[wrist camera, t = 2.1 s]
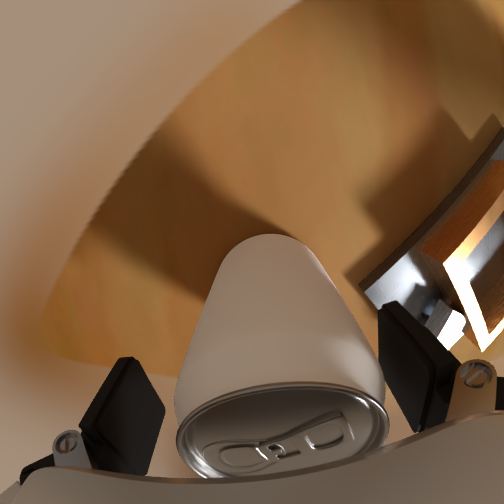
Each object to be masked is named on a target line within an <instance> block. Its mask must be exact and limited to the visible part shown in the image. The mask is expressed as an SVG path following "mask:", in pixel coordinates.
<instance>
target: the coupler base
mask: <svg viewBox="0 0 504 504" xmlns="http://www.w3.org/2000/svg"><path fill="white" fill-rule="evenodd" d="M358 285H359V286H360V288H361V289H362V290H363V291H364V293H365V294H366V295H367V296H368V298H369V299H370V300H371V301H372V302H373V304H374V305H375V306H376V307H377V309H378V310H379V309H381V307H382V305H383V304H385V303H388V302H391V301H394V300H397V301H398V302H399V303H400V304H401V305H402V306H403V307H404V308H405V309H406V310H407V311H408V312H409V313H410V314H411V315H412V316H413V317H414V318H415V319H416V320H417V321H418V322H419V323H420V324H421V325H422V326H425V327H427V328H428V329H429V330H430V331H431V332H432V333H433V334H434V335H435V336H436V337H437V338H438V339H439V340H440V342H441V343H442V344H443V345H444V346H445V347H446V348H447V349H448V350H449V348H450V347H451V346H452V345H453V344H454V343H455V342H456V341H457V340H458V339H459V338H460V337H461V336H462V335H463V334H464V335H465V336H466V337H467V338H468V339H469V340H470V341H471V342H472V343H474V344H475V345H476V346H477V347H478V348H479V349H480V350H481V351H482V352H483V351H484V350H485V348H486V347H487V346H488V345H489V344H490V343H491V342H492V341H493V340H494V339H495V338H496V336H497V335H498V334H499V333H500V332H501V331H502V329H503V328H504V127H503V128H502V129H501V131H500V132H499V134H498V135H497V136H496V138H495V139H494V140H493V142H492V143H491V144H490V146H489V147H488V148H487V150H486V151H485V152H484V153H483V155H482V156H481V157H480V158H479V160H478V161H477V162H476V163H475V165H474V166H473V167H472V168H471V170H470V171H469V172H468V173H467V174H466V176H465V177H464V178H463V179H462V180H461V181H460V183H459V184H458V185H457V186H456V187H455V188H454V190H453V191H452V192H451V193H450V194H449V195H448V196H447V197H446V199H445V200H444V201H443V202H442V203H441V204H440V205H439V206H438V207H437V208H436V209H435V211H434V212H433V213H432V214H431V215H430V216H429V217H428V218H427V219H426V220H425V221H424V222H423V223H422V224H421V225H420V226H419V227H418V228H417V229H416V230H415V231H414V232H413V233H412V234H411V235H410V236H409V237H408V238H407V239H406V240H405V241H404V242H403V243H402V244H401V245H400V246H399V247H398V248H397V249H396V250H395V251H394V252H393V253H392V254H391V255H390V256H389V257H388V258H387V259H386V260H385V261H384V262H383V263H382V264H380V265H379V266H378V267H377V268H376V269H375V270H374V271H373V272H372V273H371V274H370V275H368V276H367V277H366V278H365V279H364V280H363V281H362V282H361V283H359V284H358Z"/></svg>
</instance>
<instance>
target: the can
mask: <svg viewBox="0 0 504 504" xmlns="http://www.w3.org/2000/svg"><path fill="white" fill-rule="evenodd" d="M384 401H385V379H384V375H383V372H382V369H381V366H380V364H379V362H378V360H377V358H376V356H375V354H374V352H373V350H372V348H371V346H370V344H369V343H368V341H367V339H366V337H365V335H364V334H363V332H362V330H361V328H360V327H359V325H358V323H357V322H356V320H355V318H354V316H353V315H352V313H351V311H350V310H349V308H348V306H347V305H346V303H345V301H344V300H343V298H342V297H341V295H340V293H339V292H338V290H337V288H336V287H335V285H334V284H333V282H332V280H331V279H330V277H329V276H328V274H327V273H326V271H325V270H324V268H323V266H322V265H321V263H320V262H319V261H318V259H317V258H316V256H315V255H314V254H313V252H312V251H311V250H310V249H309V248H308V247H306V246H305V245H304V244H303V243H301V242H299V241H298V240H296V239H294V238H291V237H288V236H285V235H280V234H262V235H257V236H254V237H251V238H248V239H246V240H244V241H242V242H241V243H239V244H238V245H236V246H235V247H234V248H233V249H232V250H231V251H230V252H229V253H228V254H227V256H226V257H225V258H224V260H223V262H222V263H221V265H220V268H219V270H218V272H217V275H216V277H215V280H214V282H213V285H212V287H211V290H210V292H209V295H208V297H207V300H206V302H205V305H204V308H203V310H202V313H201V316H200V318H199V321H198V323H197V326H196V329H195V332H194V334H193V337H192V340H191V342H190V345H189V348H188V351H187V353H186V356H185V359H184V362H183V365H182V368H181V371H180V374H179V377H178V380H177V384H176V389H175V395H174V406H175V412H176V417H177V420H178V424H179V429H178V431H177V436H176V446H177V450H178V452H179V455H180V457H181V458H182V460H183V461H184V463H185V464H186V465H187V466H188V467H189V468H190V469H191V470H192V471H194V472H195V473H196V474H197V475H199V476H200V477H202V478H228V477H242V476H253V475H262V474H270V473H277V472H284V471H290V470H295V469H301V468H306V467H311V466H316V465H320V464H324V463H329V462H333V461H337V460H340V459H344V458H348V457H351V456H355V455H358V454H361V453H364V452H367V451H371V450H374V449H377V448H380V447H383V445H384V443H385V442H386V439H387V437H388V433H389V417H388V414H387V412H386V410H385V409H384Z"/></svg>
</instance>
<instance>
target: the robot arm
mask: <svg viewBox="0 0 504 504" xmlns="http://www.w3.org/2000/svg"><path fill="white" fill-rule="evenodd" d="M378 348H379V356H378V362H379V364H380V366H381V369H382V372H383V375H384V379H385V381H386V383H387V385H388V387H389V388H390V390H391V392H392V394H393V395H394V397H395V399H396V401H397V403H398V404H399V406H400V408H401V410H402V412H403V414H404V415H405V417H406V419H407V421H408V423H409V425H410V427H411V429H412V430H413V432H415V433H416V432H419V433H417V434H414V435H413V436H410V437H407V438H405V439H402V440H399V441H397V442H394V443H391V444H389V445H386V446H383V447H380V448H377V449H374V450H371V451H367V452H364V453H361V454H358V455H355V456H351V457H348V458H344V459H340V460H337V461H333V462H329V463H324V464H320V465H316V466H311V467H306V468H301V469H295V470H290V471H284V472H277V473H270V474H262V475H253V476H242V477H228V478H165V477H164V478H163V477H150V476H145V475H146V474H147V472H148V468H149V465H150V462H151V458H152V455H153V452H154V448H155V445H156V442H157V438H158V435H159V432H160V428H161V425H162V422H163V419H164V416H165V407H164V404H163V403H162V401H161V399H160V398H159V396H158V395H157V393H156V391H155V389H154V388H153V386H152V385H151V382H150V381H149V379H148V377H147V375H146V373H145V372H144V370H143V368H142V366H141V364H140V362H139V361H138V360H135V358H134V357H122V358H119V359H118V360H117V362H116V363H115V365H114V367H113V368H112V370H111V371H110V373H109V375H108V376H107V378H106V380H105V381H104V383H103V384H102V386H101V388H100V389H99V391H98V393H97V394H96V396H95V398H94V399H93V401H92V403H91V404H90V406H89V408H88V410H87V411H86V413H85V415H84V416H83V418H82V420H81V422H80V423H79V427H80V428H81V430H82V432H81V434H80V433H79V432H78V431H76V430H67V431H64V432H62V433H61V434H60V435H58V436H57V437H56V439H55V440H54V443H53V447H52V450H53V454H51V455H49V456H47V457H45V458H43V459H40V460H38V461H36V462H35V463H32V464H30V465H28V466H26V467H24V468H23V470H22V472H21V474H20V483H19V482H18V481H16V482H15V483H14V484H13V485H12V486H10V487H9V488H8V489H7V490H5V491H4V492H3V493H2V494H0V504H504V377H497V373H496V370H495V368H494V366H493V365H491V364H490V363H489V362H487V361H485V360H480V359H473V360H469V361H466V362H464V363H463V364H461V363H460V362H459V361H458V360H457V359H456V358H455V356H454V355H453V354H452V353H451V352H450V351H449V350H448V349H447V348H446V347H445V346H444V345H443V344H442V343H441V342H440V340H439V339H438V338H437V337H436V336H435V335H434V334H433V333H432V332H431V331H430V330H429V329H428V328H427V327H425V326H422V325H421V324H420V323H419V322H418V321H417V320H416V319H415V318H414V317H413V316H412V315H411V314H410V313H409V312H408V311H407V310H406V309H405V308H404V307H403V306H402V305H401V304H400V303H399V302H398V301H397V300H394V301H391V302H388V303H385V304H383V305H382V307H381V309H379V310H378Z"/></svg>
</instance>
